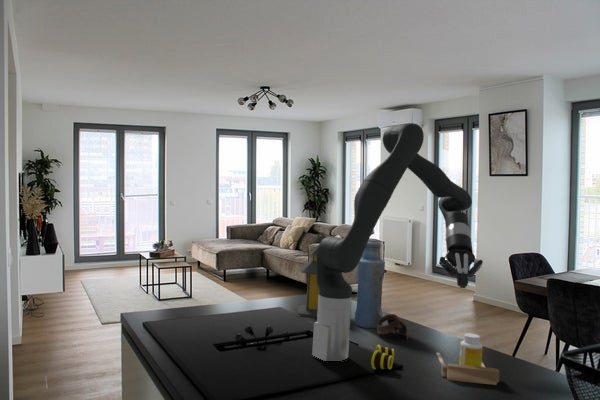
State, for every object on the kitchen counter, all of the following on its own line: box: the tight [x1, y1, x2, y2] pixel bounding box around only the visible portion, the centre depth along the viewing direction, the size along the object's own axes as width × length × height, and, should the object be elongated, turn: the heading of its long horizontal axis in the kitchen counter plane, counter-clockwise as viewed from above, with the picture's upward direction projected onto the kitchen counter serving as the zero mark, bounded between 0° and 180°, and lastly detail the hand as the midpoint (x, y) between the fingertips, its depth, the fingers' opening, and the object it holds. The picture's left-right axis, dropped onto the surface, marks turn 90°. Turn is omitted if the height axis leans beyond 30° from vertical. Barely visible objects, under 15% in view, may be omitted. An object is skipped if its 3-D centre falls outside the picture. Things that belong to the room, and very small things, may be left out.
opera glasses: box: [370, 344, 395, 370], centre depth 137 cm, size 10×5×5 cm, turn 164°
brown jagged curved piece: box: [376, 313, 409, 340], centre depth 167 cm, size 12×10×8 cm
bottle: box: [354, 238, 386, 329], centre depth 178 cm, size 10×10×30 cm
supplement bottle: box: [458, 332, 483, 367], centre depth 135 cm, size 6×6×10 cm
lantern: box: [297, 232, 325, 318], centre depth 193 cm, size 14×14×30 cm
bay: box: [435, 352, 501, 386], centre depth 139 cm, size 22×14×4 cm, turn 172°
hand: (463, 286), depth 147 cm, fingers closed
